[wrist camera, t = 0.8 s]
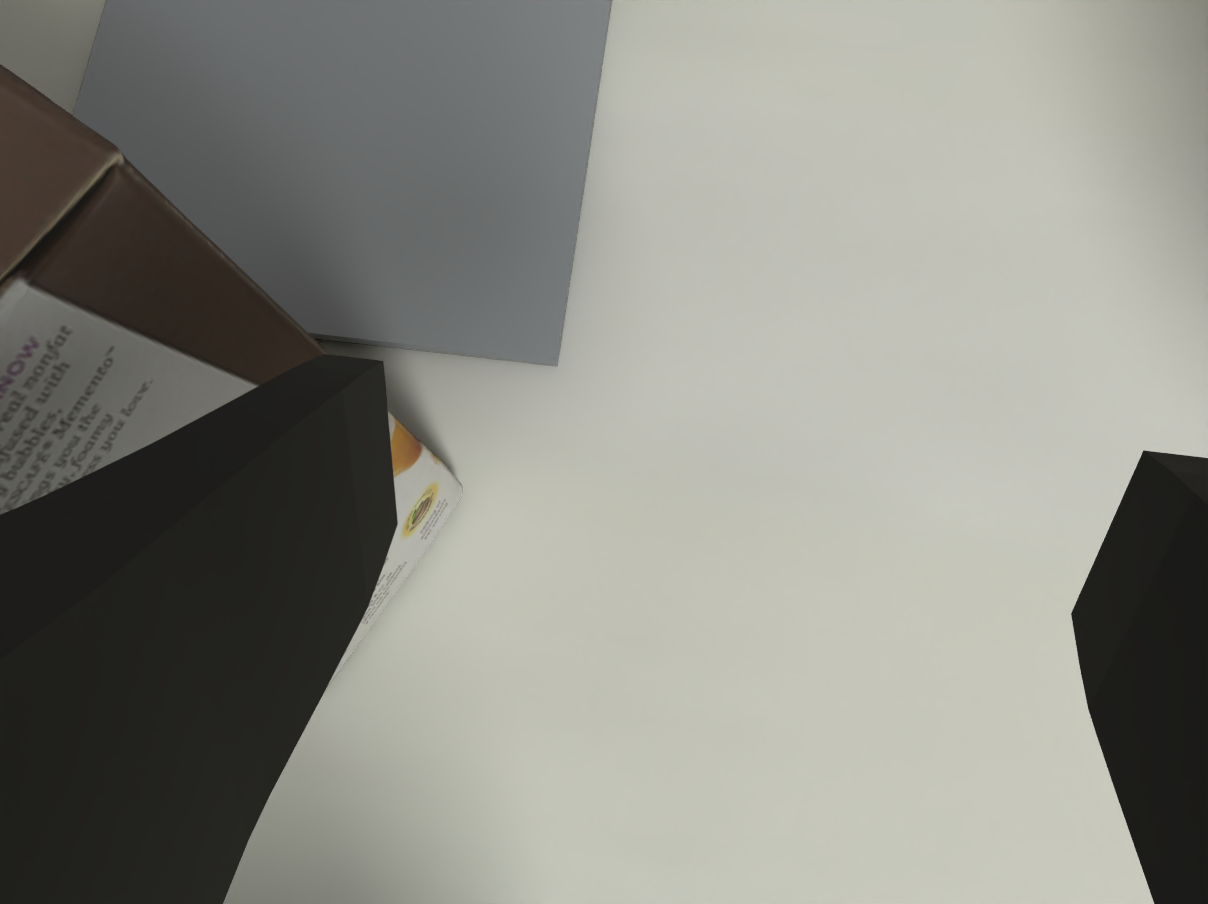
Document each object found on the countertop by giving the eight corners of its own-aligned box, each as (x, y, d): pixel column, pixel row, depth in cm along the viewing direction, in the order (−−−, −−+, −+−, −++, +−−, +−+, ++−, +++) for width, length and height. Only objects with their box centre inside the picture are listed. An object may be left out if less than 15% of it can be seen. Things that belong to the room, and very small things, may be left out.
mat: (557, 366, 25) (556, 361, 24) (27, 305, 26) (18, 300, 25) (630, -123, 28) (630, -134, 28) (163, -162, 29) (157, -174, 29)
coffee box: (478, 483, 24) (165, 155, 8) (316, 706, 23) (-396, 826, 7) (191, 283, 25) (-561, -335, 9) (27, 486, 24) (-1114, 178, 8)
